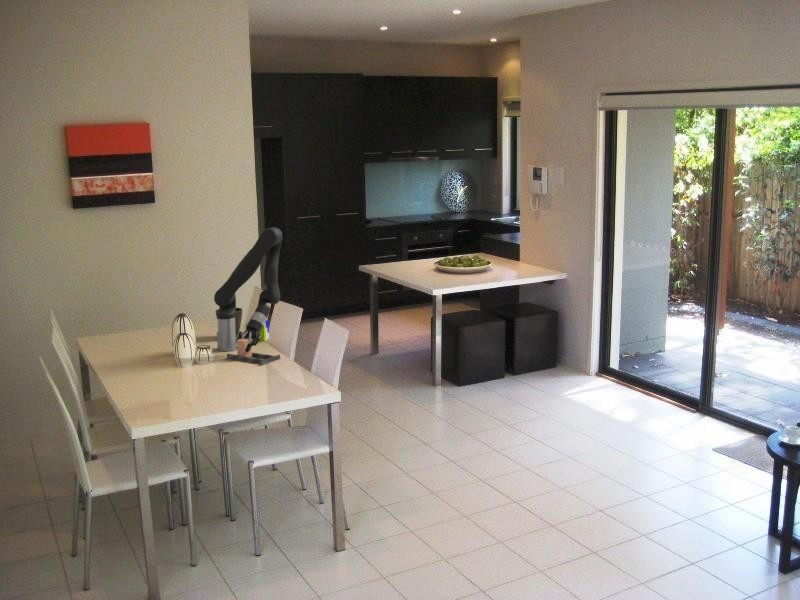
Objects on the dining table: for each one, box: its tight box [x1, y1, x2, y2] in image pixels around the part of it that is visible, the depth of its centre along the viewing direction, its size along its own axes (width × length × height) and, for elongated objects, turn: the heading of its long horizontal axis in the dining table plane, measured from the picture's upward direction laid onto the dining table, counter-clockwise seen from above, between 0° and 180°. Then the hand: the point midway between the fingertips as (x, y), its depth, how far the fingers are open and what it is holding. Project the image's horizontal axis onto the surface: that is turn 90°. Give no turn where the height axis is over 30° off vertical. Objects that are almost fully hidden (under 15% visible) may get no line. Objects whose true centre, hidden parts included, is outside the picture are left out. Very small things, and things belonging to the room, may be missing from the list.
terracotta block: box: [236, 338, 253, 357], centre depth 423 cm, size 5×5×9 cm
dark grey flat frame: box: [224, 350, 281, 366], centre depth 421 cm, size 25×14×4 cm, turn 60°
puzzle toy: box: [245, 319, 270, 343], centre depth 468 cm, size 10×10×10 cm
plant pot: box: [214, 307, 243, 338], centre depth 472 cm, size 15×15×16 cm
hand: (242, 350), depth 421 cm, fingers closed on terracotta block, 5 cm apart
